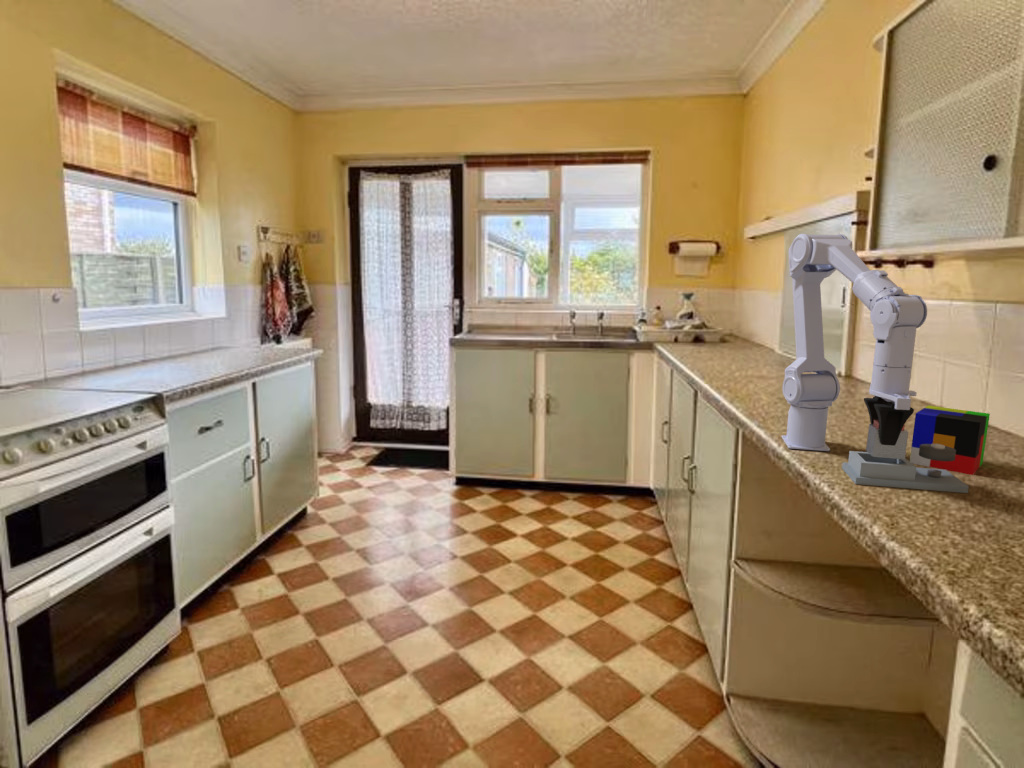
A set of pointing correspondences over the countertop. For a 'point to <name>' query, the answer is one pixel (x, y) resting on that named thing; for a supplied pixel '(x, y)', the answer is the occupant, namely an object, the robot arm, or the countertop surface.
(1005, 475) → the countertop surface
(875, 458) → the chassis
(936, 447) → the wheel
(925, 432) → the puzzle toy
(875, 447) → the red and grey block
